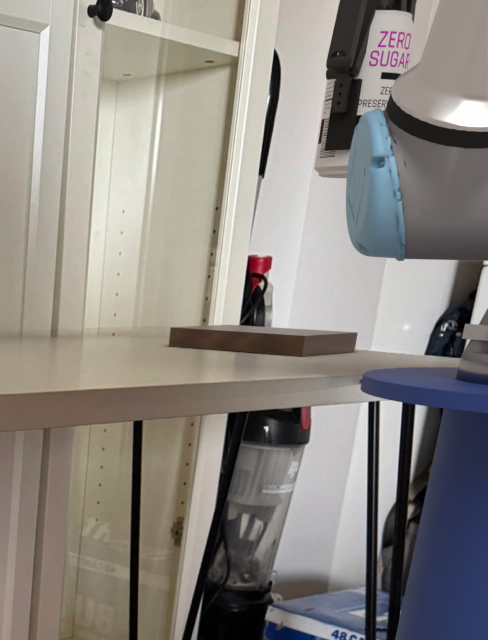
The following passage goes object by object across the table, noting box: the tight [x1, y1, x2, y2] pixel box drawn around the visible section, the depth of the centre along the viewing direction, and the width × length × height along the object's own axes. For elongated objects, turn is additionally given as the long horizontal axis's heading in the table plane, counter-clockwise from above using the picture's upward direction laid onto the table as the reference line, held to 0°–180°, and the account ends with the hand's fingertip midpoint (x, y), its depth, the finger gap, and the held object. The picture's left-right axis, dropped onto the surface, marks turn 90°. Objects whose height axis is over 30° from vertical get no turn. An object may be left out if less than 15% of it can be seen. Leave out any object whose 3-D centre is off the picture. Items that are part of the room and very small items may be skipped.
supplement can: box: [313, 10, 417, 179], centre depth 112 cm, size 8×8×15 cm
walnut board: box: [168, 324, 359, 357], centre depth 143 cm, size 20×16×2 cm
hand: (355, 153), depth 115 cm, fingers closed on supplement can, 8 cm apart
